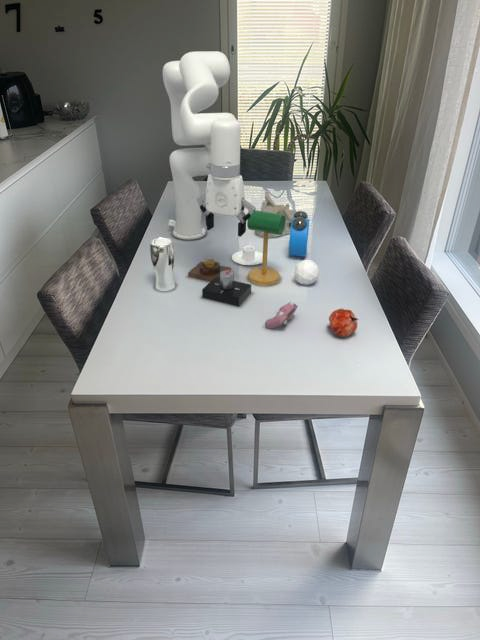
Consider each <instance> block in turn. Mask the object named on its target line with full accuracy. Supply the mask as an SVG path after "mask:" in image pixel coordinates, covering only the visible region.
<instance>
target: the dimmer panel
mask: <svg viewBox="0 0 480 640" xmlns="http://www.w3.org/2000/svg"><path fill="white" fill-rule="evenodd" d="M251 294H252V284H251V283H246V282H242V281H237V280H234V287H233V288H232V289H230V290H224V289H221V287H220V277H215V278H214V279H213V280H212V281H211V282H208V283H207V284H206V285H205V286H204V287H203V288H201V295H202V297H201V298H202V299H205V300H210V301H214V302H218V303H222V304H226V305H231V306H234V307H240V306H241V305H242V304H243V303H244V302H245V301H246V300H247V298H248V297H249V296H250V295H251Z"/></svg>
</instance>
